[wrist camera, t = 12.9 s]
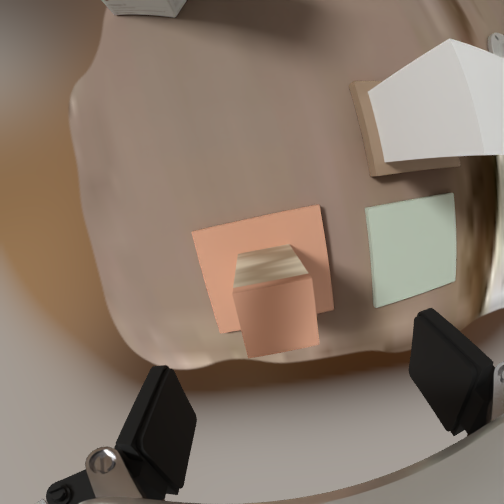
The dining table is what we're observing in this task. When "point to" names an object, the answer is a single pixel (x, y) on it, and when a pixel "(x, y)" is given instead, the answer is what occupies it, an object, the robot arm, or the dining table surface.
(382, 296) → the sage pad
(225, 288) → the terracotta pad
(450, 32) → the dining table surface
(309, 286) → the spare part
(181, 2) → the supplement box
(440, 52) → the mounted unit
